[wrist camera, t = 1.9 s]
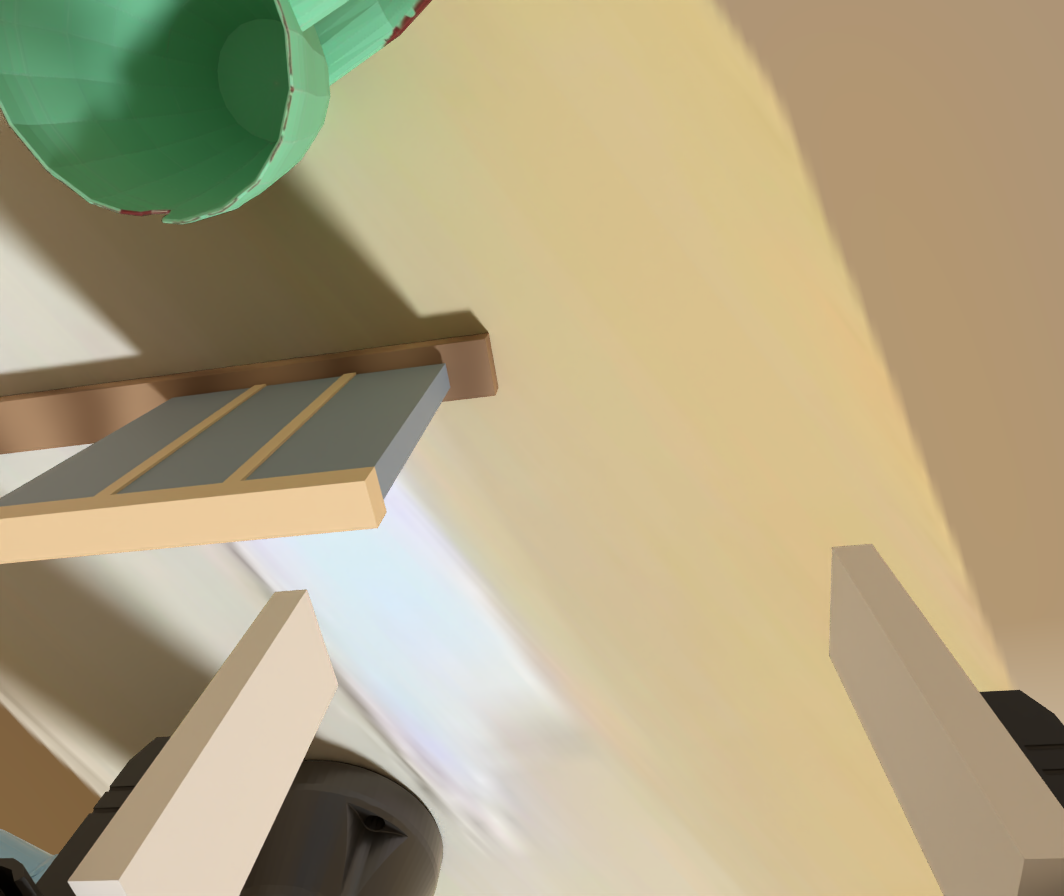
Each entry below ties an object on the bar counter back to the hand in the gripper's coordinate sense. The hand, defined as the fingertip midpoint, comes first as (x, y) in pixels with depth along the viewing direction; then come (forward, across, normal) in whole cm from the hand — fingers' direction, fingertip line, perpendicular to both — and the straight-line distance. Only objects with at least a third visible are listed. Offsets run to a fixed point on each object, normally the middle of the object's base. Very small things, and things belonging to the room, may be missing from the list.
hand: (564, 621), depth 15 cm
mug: (+20, -9, +14) cm, 27 cm away
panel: (+18, -13, +1) cm, 23 cm away
